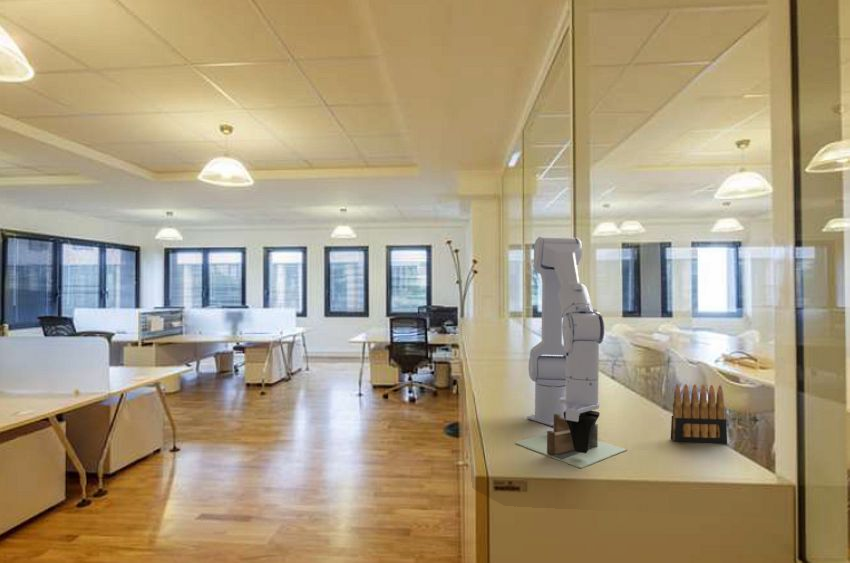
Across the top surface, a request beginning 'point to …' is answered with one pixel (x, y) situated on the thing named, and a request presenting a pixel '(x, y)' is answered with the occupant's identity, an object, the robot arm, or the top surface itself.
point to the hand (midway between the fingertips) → (581, 451)
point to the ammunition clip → (699, 417)
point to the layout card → (573, 451)
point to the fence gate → (559, 442)
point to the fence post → (562, 425)
